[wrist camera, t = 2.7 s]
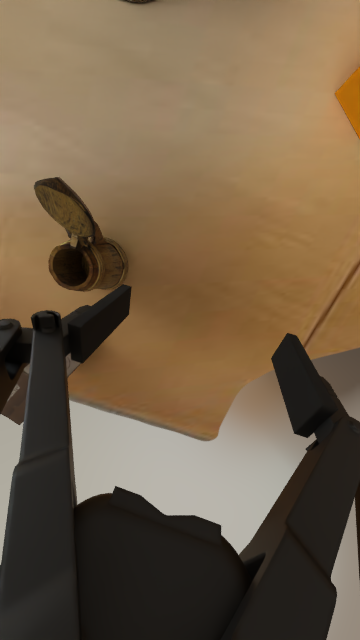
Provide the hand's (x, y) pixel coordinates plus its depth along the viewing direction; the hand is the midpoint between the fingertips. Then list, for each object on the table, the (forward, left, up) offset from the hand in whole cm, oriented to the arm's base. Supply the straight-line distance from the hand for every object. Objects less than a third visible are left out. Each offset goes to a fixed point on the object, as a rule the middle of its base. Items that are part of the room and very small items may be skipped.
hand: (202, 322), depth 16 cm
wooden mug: (-5, -16, -22) cm, 28 cm away
